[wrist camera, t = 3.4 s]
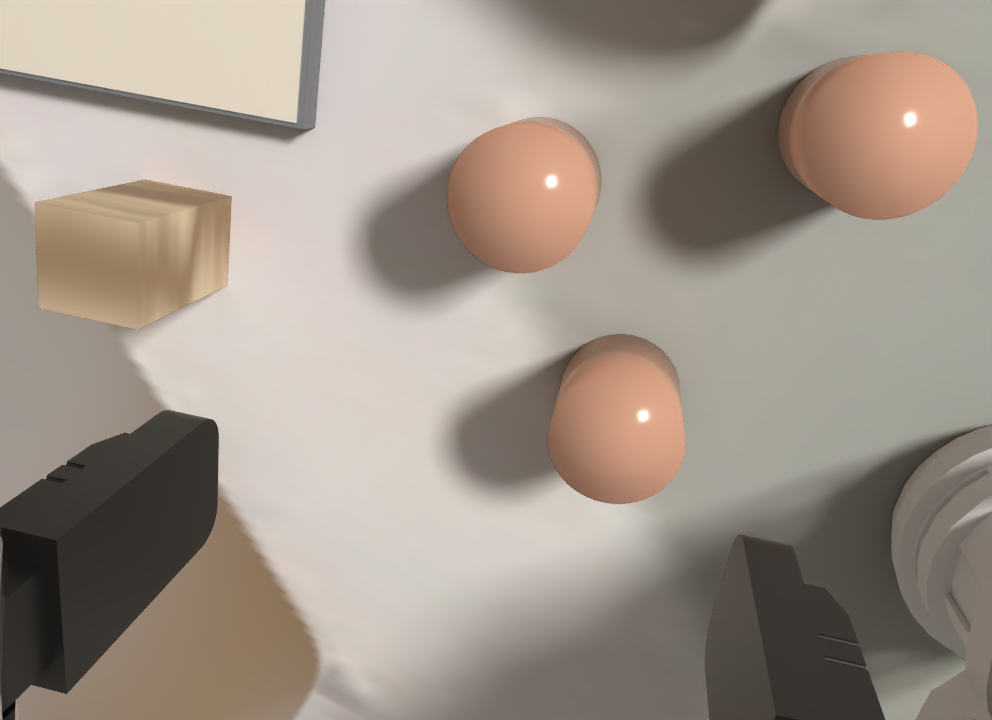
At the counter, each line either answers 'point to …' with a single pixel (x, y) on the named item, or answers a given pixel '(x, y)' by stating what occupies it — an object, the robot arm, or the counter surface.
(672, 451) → the cylinder
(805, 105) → the peach rounded cylinder
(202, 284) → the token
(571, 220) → the peach dome knob
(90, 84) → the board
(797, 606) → the robot arm
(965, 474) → the lantern
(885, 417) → the counter surface
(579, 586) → the counter surface
